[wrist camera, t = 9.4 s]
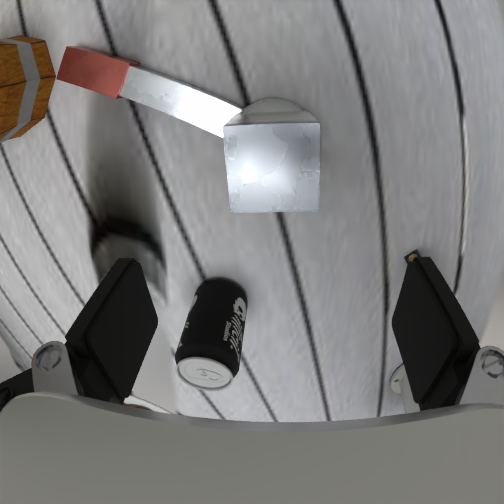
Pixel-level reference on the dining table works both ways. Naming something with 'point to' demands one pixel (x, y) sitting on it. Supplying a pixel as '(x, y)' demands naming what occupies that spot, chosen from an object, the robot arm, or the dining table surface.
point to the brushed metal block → (272, 161)
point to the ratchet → (156, 89)
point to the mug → (23, 84)
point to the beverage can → (212, 337)
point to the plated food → (143, 404)
